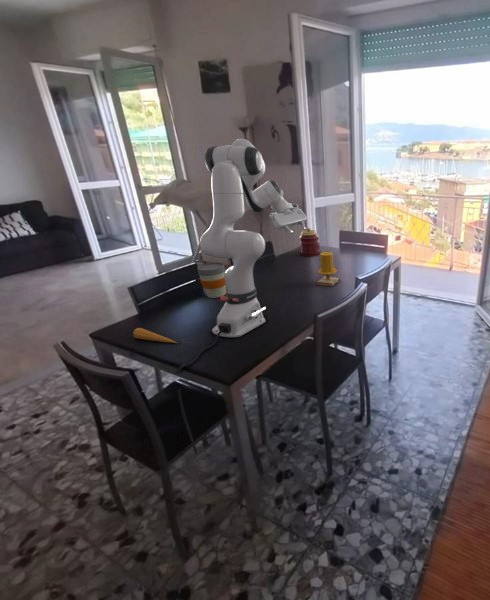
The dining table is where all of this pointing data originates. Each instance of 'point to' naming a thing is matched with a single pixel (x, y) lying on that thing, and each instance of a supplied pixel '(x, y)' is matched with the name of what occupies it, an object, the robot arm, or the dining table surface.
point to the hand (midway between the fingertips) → (298, 231)
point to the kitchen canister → (309, 243)
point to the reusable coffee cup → (213, 279)
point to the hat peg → (328, 281)
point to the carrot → (150, 336)
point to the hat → (327, 264)
